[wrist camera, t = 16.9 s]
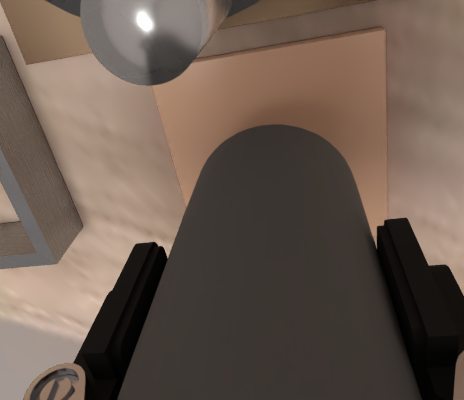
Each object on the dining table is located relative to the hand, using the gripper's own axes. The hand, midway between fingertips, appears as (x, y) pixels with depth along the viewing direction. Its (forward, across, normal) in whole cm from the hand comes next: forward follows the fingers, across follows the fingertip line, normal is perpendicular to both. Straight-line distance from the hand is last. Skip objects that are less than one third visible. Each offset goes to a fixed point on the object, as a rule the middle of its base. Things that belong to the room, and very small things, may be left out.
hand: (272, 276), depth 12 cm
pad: (+8, 0, 0) cm, 8 cm away
